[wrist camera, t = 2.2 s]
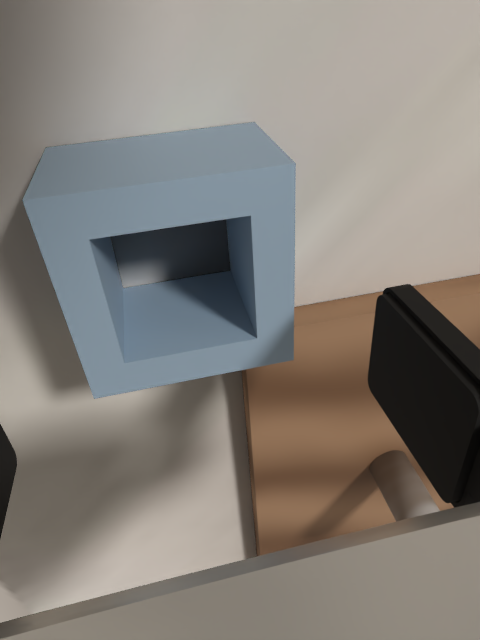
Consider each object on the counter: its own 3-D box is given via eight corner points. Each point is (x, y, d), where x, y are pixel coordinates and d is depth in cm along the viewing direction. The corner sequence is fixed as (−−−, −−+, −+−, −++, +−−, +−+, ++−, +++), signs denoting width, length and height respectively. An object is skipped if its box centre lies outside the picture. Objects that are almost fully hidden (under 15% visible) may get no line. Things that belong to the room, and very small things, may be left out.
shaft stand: (237, 317, 18) (293, 474, 12) (559, 259, 20) (740, 372, 14) (257, 566, 30) (291, 704, 24) (456, 516, 32) (530, 633, 26)
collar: (45, 147, 13) (22, 200, 10) (254, 122, 14) (295, 163, 10) (98, 319, 16) (94, 398, 13) (261, 291, 17) (293, 359, 14)
